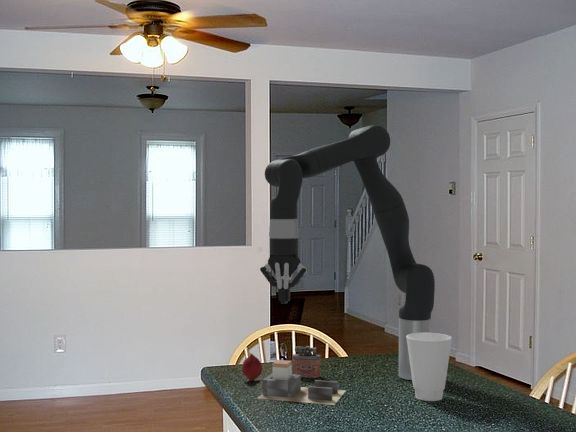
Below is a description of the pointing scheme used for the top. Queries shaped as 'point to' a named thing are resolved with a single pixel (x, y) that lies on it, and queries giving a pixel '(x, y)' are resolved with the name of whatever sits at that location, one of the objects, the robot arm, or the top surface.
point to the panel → (301, 391)
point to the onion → (252, 367)
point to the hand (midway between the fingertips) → (284, 303)
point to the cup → (429, 363)
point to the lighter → (306, 362)
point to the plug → (282, 370)
